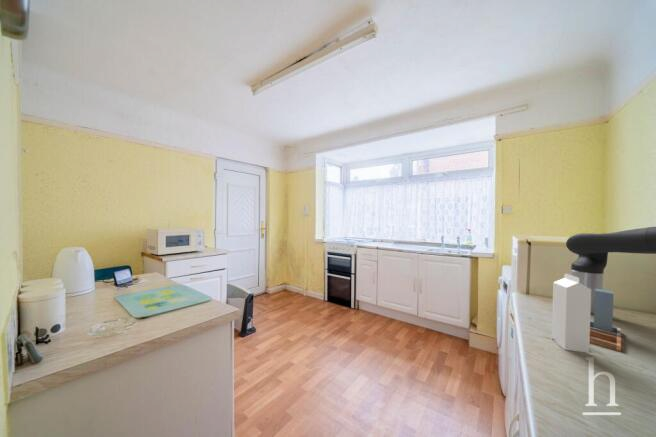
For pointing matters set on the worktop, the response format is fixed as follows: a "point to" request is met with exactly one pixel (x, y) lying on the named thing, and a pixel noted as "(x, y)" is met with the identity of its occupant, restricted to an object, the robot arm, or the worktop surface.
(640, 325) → the worktop surface
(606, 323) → the post
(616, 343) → the socket board
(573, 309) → the milk
